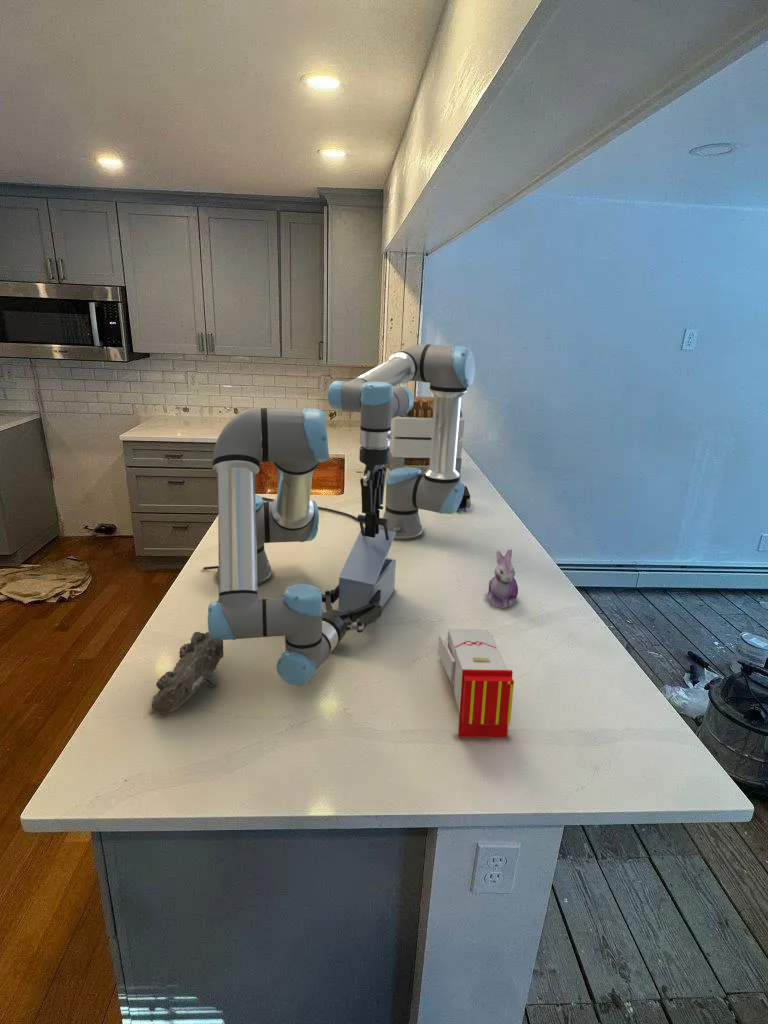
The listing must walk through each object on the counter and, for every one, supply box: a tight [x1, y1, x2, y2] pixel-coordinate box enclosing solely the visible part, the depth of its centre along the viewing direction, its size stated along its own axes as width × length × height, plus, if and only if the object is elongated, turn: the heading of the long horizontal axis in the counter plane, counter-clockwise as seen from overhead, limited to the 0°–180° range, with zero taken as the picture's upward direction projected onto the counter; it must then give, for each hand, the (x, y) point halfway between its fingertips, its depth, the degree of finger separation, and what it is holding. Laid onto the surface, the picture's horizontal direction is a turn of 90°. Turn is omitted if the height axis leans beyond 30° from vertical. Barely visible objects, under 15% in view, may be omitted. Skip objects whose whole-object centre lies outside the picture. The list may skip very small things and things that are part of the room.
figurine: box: [487, 548, 519, 609], centre depth 154 cm, size 9×10×15 cm
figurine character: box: [456, 485, 472, 513], centre depth 228 cm, size 7×8×15 cm
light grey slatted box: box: [383, 384, 465, 481], centre depth 268 cm, size 34×33×41 cm
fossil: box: [151, 631, 225, 714], centre depth 116 cm, size 22×10×15 cm
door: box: [338, 514, 396, 586], centre depth 145 cm, size 18×10×8 cm, turn 161°
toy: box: [437, 628, 515, 738], centre depth 117 cm, size 12×13×30 cm
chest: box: [337, 557, 397, 612], centre depth 151 cm, size 18×10×10 cm, turn 161°
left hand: (360, 590), depth 146 cm, fingers closed on chest, 9 cm apart
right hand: (371, 534), depth 148 cm, fingers closed on door, 2 cm apart
